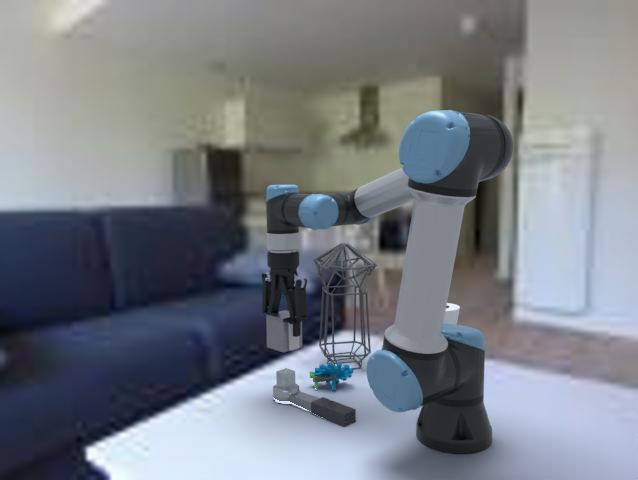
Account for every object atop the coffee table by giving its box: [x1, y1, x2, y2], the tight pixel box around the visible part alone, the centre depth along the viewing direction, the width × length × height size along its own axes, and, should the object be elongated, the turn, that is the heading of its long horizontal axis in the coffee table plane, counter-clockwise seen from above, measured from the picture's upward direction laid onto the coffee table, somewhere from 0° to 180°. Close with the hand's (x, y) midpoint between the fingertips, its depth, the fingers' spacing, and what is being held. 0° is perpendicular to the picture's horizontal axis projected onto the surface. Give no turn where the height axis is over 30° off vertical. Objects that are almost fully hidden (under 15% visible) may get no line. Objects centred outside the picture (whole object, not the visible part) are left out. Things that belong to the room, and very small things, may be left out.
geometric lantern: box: [312, 242, 378, 370], centre depth 160 cm, size 16×16×35 cm
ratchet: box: [272, 367, 357, 428], centre depth 132 cm, size 24×6×7 cm, turn 45°
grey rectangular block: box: [265, 309, 303, 353], centre depth 136 cm, size 6×6×8 cm
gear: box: [309, 362, 354, 392], centre depth 144 cm, size 11×6×10 cm
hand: (284, 345), depth 137 cm, fingers closed on grey rectangular block, 6 cm apart
